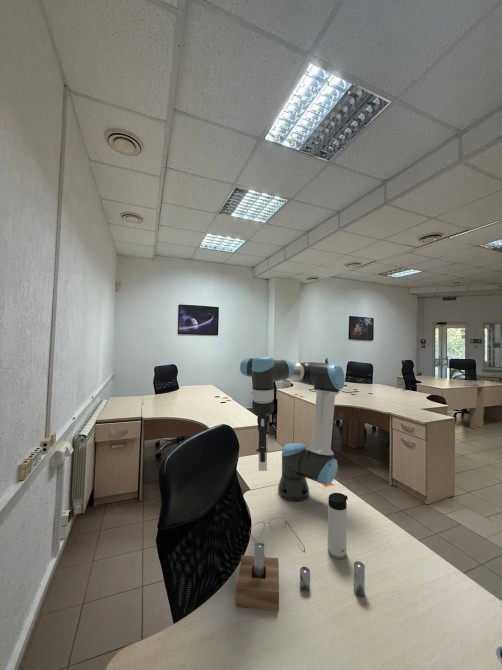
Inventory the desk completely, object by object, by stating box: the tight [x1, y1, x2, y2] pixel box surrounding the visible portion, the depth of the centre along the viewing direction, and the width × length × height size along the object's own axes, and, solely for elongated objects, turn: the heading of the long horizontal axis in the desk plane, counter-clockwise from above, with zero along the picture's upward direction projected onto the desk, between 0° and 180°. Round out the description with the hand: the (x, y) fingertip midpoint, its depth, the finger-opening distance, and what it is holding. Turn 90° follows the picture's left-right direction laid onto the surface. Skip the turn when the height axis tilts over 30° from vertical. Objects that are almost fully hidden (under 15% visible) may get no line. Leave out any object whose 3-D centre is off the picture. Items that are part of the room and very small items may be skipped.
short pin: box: [299, 566, 311, 593], centre depth 84 cm, size 3×3×5 cm
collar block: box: [235, 554, 280, 611], centre depth 83 cm, size 12×12×5 cm
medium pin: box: [353, 560, 366, 598], centre depth 82 cm, size 3×3×8 cm
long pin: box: [253, 541, 265, 579], centre depth 83 cm, size 3×3×13 cm
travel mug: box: [327, 492, 349, 560], centre depth 98 cm, size 6×7×20 cm
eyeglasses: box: [248, 516, 306, 553], centre depth 101 cm, size 16×15×5 cm
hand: (263, 460), depth 97 cm, fingers open, 13 cm apart
